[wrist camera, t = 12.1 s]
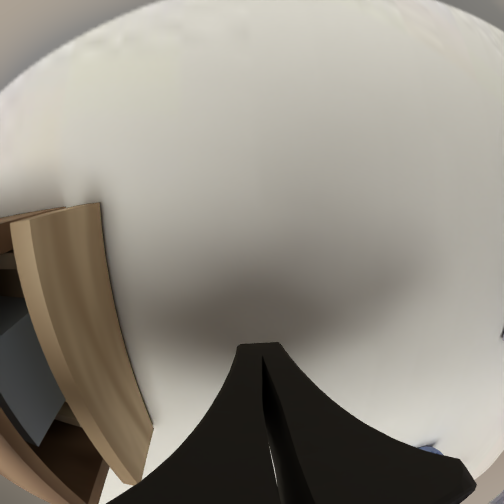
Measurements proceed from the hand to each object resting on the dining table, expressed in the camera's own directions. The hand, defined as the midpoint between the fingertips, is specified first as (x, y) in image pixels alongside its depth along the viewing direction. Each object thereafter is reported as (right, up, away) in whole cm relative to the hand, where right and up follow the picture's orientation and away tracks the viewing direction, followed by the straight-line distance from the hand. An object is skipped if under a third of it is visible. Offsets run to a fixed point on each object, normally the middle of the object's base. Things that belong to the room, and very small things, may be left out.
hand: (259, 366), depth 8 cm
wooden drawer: (-11, 0, +1) cm, 11 cm away
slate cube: (-10, 0, 0) cm, 10 cm away
